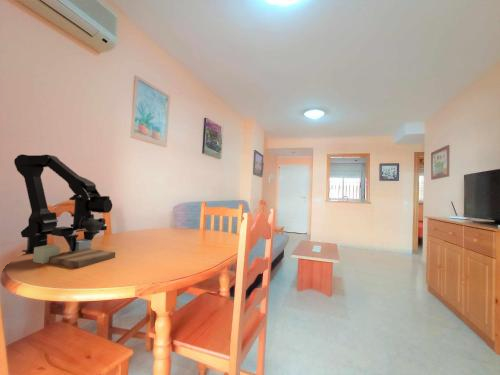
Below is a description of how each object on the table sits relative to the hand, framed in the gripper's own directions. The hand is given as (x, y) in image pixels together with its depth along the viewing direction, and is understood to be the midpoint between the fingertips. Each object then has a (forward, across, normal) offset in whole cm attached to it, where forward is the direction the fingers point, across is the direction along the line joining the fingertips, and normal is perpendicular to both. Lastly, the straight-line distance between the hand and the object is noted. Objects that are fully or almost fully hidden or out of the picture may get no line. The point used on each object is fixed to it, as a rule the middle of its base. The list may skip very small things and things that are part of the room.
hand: (80, 250), depth 93 cm
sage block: (+1, -12, 0) cm, 12 cm away
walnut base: (+1, -6, -10) cm, 12 cm away
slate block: (+1, 0, 0) cm, 1 cm away
